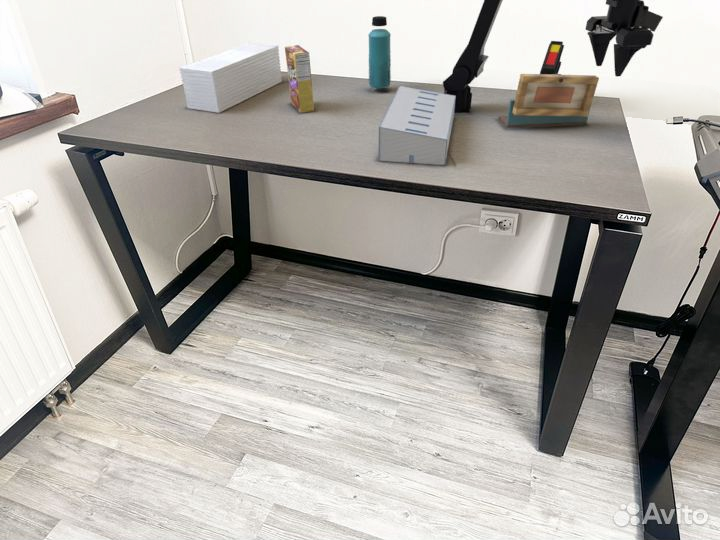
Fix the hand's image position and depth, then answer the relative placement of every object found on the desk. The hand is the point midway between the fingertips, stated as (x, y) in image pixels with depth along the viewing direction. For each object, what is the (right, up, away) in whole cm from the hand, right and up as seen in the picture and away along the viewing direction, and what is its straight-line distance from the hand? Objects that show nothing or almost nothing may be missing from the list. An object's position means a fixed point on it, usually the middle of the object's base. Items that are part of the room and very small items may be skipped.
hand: (608, 71), depth 119 cm
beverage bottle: (-51, +8, +36) cm, 63 cm away
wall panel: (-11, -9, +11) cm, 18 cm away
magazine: (-6, +1, +25) cm, 25 cm away
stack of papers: (-93, +6, +35) cm, 100 cm away
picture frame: (-11, -9, +5) cm, 15 cm away
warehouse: (-43, -14, +5) cm, 45 cm away
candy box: (-73, -1, +24) cm, 77 cm away
